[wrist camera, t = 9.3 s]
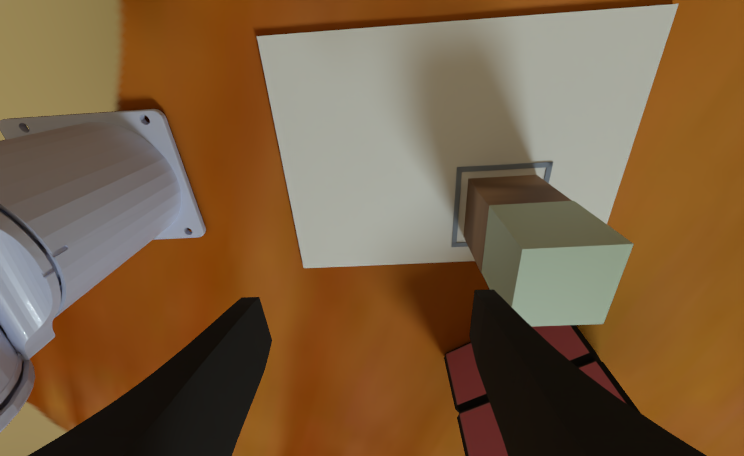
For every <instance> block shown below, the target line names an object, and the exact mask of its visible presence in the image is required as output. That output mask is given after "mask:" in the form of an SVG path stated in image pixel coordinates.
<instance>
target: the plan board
mask: <svg viewBox="0 0 744 456" xmlns="http://www.w3.org/2000/svg"><path fill="white" fill-rule="evenodd" d="M677 7H678V4H668V5H655V6H642V7H629V8H616V9H603V10H590V11H577V12H564V13H552V14H539V15H526V16H513V17H500V18H487V19H474V20H461V21H448V22H435V23H422V24H409V25H396V26H383V27H370V28H357V29H344V30H331V31H318V32H305V33H293V34H280V35H267V36H257V41H258V45H259V50H260V55H261V60H262V65H263V70H264V75H265V80H266V85H267V90H268V95H269V100H270V105H271V110H272V114H273V119H274V124H275V129H276V134H277V139H278V144H279V149H280V154H281V159H282V164H283V169H284V174H285V178H286V183H287V188H288V193H289V198H290V203H291V208H292V213H293V218H294V223H295V228H296V233H297V238H298V243H299V247H300V252H301V257H302V262H303V267H304V268H321V267H345V266H368V265H392V264H416V263H440V262H464V261H475V260H474V257H473V255H472V253H471V251H470V249H469V247H468V245H467V243H466V241H465V239H464V237H463V236H464V224H465V212H466V200H467V189H468V178H486V177H505V176H524V175H538V176H539V177H540V178H542V179H543V180H545V181H546V182H547V183H549V184H550V185H551V186H553V187H554V188H555V189H557V190H558V191H560V192H561V193H562V194H564V195H565V196H566V197H568V198H569V199H570V200H572V201H575V202H577V203H578V204H579V205H581V206H582V207H583V208H585V209H586V210H588V211H589V212H590V213H592V214H593V215H594V216H596V217H597V218H599V219H600V220H601V221H603V222H604V223H606V224H607V222H608V219H609V216H610V213H611V210H612V207H613V203H614V200H615V197H616V194H617V191H618V188H619V185H620V182H621V179H622V176H623V173H624V170H625V167H626V164H627V161H628V157H629V154H630V151H631V148H632V145H633V142H634V139H635V136H636V133H637V130H638V127H639V124H640V121H641V118H642V115H643V111H644V108H645V105H646V102H647V99H648V96H649V93H650V90H651V87H652V84H653V81H654V78H655V75H656V72H657V69H658V65H659V62H660V59H661V56H662V53H663V50H664V47H665V44H666V41H667V38H668V35H669V32H670V29H671V26H672V23H673V20H674V16H675V13H676V10H677Z"/></svg>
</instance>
